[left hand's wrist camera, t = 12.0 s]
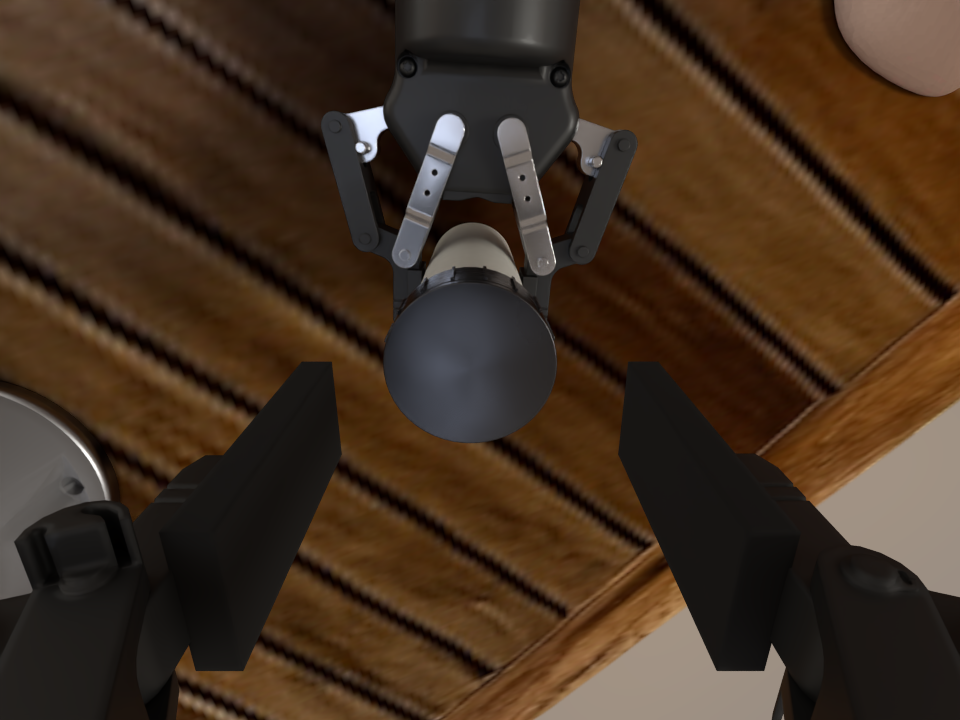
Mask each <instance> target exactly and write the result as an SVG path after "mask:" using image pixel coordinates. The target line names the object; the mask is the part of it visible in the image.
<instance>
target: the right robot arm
mask: <svg viewBox="0 0 960 720" xmlns="http://www.w3.org/2000/svg"><path fill="white" fill-rule="evenodd" d="M579 5H580V0H395V75H394V79H393V83H392V85H391V88H390V90H389V92H388V94H387V96H386V98H385V100H384V104H383V106H381V107H376V108H372V109H367V110H362V111H358V112H353V113H348V114H345V113H342V112H338V111H330V112H328V113H326V114H325V115H324V117H323V118H322V121H321V129H322V132H323V136H324V140H325V143H326V147H327V150H328V154H329V158H330V161H331V165H332V168H333V172H334V176H335V179H336V183H337V186H338V190H339V194H340V197H341V201H342V204H343V208H344V211H345V215H346V219H347V222H348V226H349V229H350V233H351V237H352V240H353V243H354V245H355V246H356V248H358V249H359V250H361V251H363V252H372V253H374V254H377V255H379V256H382V257H384V258H385V259H387V260H388V261H389V262H390V264H391V265H392V268H393V300H394V301H393V308H394V309H393V320H394V321H395V319H396V317H397V315H398V314H397V311H398V309H399V307H400V305H401V303H402V301H403V299H404V297H405V298H407V297H408V296H409V295H410V294H411V293H412V292H413V290H414V289H415V288H416V287H417V286H419V285H420V284H421V282H422V280H423V277H424V275H425V272H426V262H424V261H422V250H423V247H424V245H425V242H426V239H427V237H428V234H429V231H430V229H431V226H432V223H433V221H434V218H435V216H436V213H437V211H438V208H439V206H440V203H441V200H458V201H460V200H465V199H469V198H474V197H480V198H483V199H486V200H488V201H491V202H494V203H509V204H512V208H513V211H514V215H515V219H516V222H517V225H518V229H519V233H520V237H521V241H522V244H523V248H524V252H525V262H524V267H520V269H519V277H520V280H521V283H522V285H523V287H524V288H525V289H526V290H527V291H528V292H529V293H530V294H531V295H532V296H536V298H537V300H538V302H539V305H540V307H541V310H542V313H543V315H544V318H545V320H546V322H547V314H548V305H549V296H550V286H551V279H552V277H553V275H554V273H555V272H556V271H557V270H559V269H560V268H563V267H566V266H569V265H572V264H576V263H577V264H587V263H589V262H590V261H591V260H592V259H593V258H594V256H595V254H596V251H597V249H598V246H599V244H600V241H601V239H602V236H603V233H604V231H605V228H606V226H607V223H608V221H609V218H610V216H611V213H612V211H613V208H614V205H615V203H616V200H617V198H618V195H619V193H620V190H621V188H622V185H623V182H624V180H625V177H626V175H627V172H628V170H629V167H630V165H631V162H632V159H633V157H634V154H635V152H636V149H637V138H636V136H635V135H634V133H632V132H631V131H628V130H611V129H608V128H605V127H602V126H599V125H597V124H594V123H591V122H588V121H585V120H583V119H580V118H579V112H578V108H577V106H576V103H575V101H574V97H573V93H572V71H573V61H574V52H575V42H576V33H577V23H578V14H579ZM387 130H390V132H391V134H392V135H393V137H394V138H395V140H396V141H397V143H398V144H399V146H400V147H401V149H402V151H403V152H404V154H405V155H406V157H407V158H408V160H409V161H410V163H411V164H412V166H413V168H414V169H415V171H416V172H417V174H418V178H417V181H416V184H415V186H414V189H413V192H412V195H411V198H410V200H409V203H408V206H407V209H406V213H405V217H404V220H403V222H402V225H401V228H400V231H399V230H397V229H395V228H392V227H390V226H388V225H385V221H384V217H383V213H382V209H381V205H380V201H379V197H378V193H377V189H376V185H375V181H374V177H373V173H372V170H371V166H370V162H371V161H374V160H375V159H377V158H378V156H379V154H380V150H381V147H380V140H381V137H382V135H383V134H384V133H385V132H386V131H387ZM571 141H572V142H573V143H574V144H575V145H576V147H577V149H578V159H577V166H578V168H579V170H580V171H581V172H582V173H583V174H585V175H586V177H585V180H584V182H583V185H582V188H581V190H580V193H579V196H578V199H577V201H576V204H575V207H574V210H573V212H572V215H571V218H570V220H569V223H568V226H567V229H566V231H565V234H564V235H562V236H558V237H555V238H552V239H551V238H550V234H549V230H548V226H547V218H546V213H545V209H544V205H543V200H542V196H541V192H540V188H539V184H538V181H539V180H540V179H541V178H542V176H543V175H544V174H545V173H546V172H547V170H548V169H549V168H550V167H551V165H552V164H553V163H554V162H555V160H556V159H557V158H558V157H559V156H560V154H561V153H562V152H563V151H564V149H565V148H566V147H567V146H568V144H569V143H570V142H571ZM442 198H443V199H442Z"/></svg>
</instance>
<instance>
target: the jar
mask: <svg viewBox="0 0 960 720" xmlns="http://www.w3.org/2000/svg"><path fill="white" fill-rule="evenodd" d="M453 266H455V267H456V268H461V267H480V268H483V266H486V268H487V269H491V270H494V271H498V272H500V273H502V274H505V275H507V276H509V277H510V278H511V277H512V276H513V277H515V280H516V281H517V282H518V283H519V284H521V285H522V283H521V280H520V277H519V274H518V271H517V268H516V266H515V263H514V260H513V257H512V254H511V251H510V249H509V246H508V244H507V242H506V241H505V239H504V238H503V237H502V236H501V235H500V234H499V233H498V232H497V231H496V230H494V229H493V228H491V227H489V226H487V225H484V224H480V223H464V224H460V225H458V226H455V227H453V228H452V229H450V230H449V231H447V232H446V233H445V234H444V235H443V236H442V237H441V239H440V240H439V241H438V243H437V245H436V248H435V250H434V252H433V255H432V257H431V260H430V262H429V265H428V267H427V270H426V272H425V275H424V277H423V280H424V278H426V277H427V278H428V279H429V278H430V277H432V276H434V275H436V274H438V273H441V272H443V271H446V270H450V269H452V267H453ZM423 280H422V282H421V283H423ZM522 286H523V285H522Z"/></svg>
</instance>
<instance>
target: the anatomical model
mask: <svg viewBox="0 0 960 720" xmlns="http://www.w3.org/2000/svg"><path fill="white" fill-rule="evenodd" d="M834 5H835V14H836V20H837V23H838V27H839V29H840V31H841V34H842V36H843V38H844V40H845V41H846V43H847V44H848V46H849V47H850V48H851V50H852V51H853V52H854V53H855V54H856V55H857V56H858V57H859V59H860V60H861V61H862V62H864V63H865V64H866V65H867V66H868V67H870V68H871V69H872V70H873V71H875V72H876V73H878V74H879V75H881V76H882V77H884V78H885V79H887V80H889V81H890V82H892V83H894V84H896V85H898V86H900V87H902V88H904V89H906V90H909V91H911V92H914V93H916V94H920V95H924V96H932V97H936V96H942V95H946V94H948V93H951V92H953V91H955V90H956V89H958V88H960V0H834Z"/></svg>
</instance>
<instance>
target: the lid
mask: <svg viewBox="0 0 960 720" xmlns="http://www.w3.org/2000/svg"><path fill="white" fill-rule="evenodd" d="M397 314H398V315H397V317H396V319H395V321H394V323H392V325H391V327H390V330H389V332H388V334H387V336H386V338H385V341H384V342H386V344H385V349H384V357H383V367H384V376H385V380H386V384H387V387H388V390H389V392H390V394H391V396H392V398H393V400H394V402H395V403H396V405H397V406H398V408H399V409H400V411H401V412H402V413H403V414H404V415H405V416H406V417H407V418H408V419H409V420H410V421H411V422H413V423H414V424H415V425H416V426H418V427H419V428H421V429H422V430H424V431H425V432H427V433H429V434H432V435H434V436H436V437H439V438H442V439H445V440H449V441H453V442H461V443H480V442H487V441H492V440H496V439H499V438H502V437H504V436H507V435H509V434H511V433H513V432H515V431H517V430H518V429H520V428H521V427H523V426H524V425H526V424H527V423H528V422H529V421H530V420H531V419H533V418H534V417H535V415H536V414H537V413H538V412H539V411H540V410H541V408H542V407H543V405H544V404H545V403H546V401H547V399H548V397H549V395H550V393H551V391H552V388H553V385H554V382H555V377H556V370H557V356H556V348H555V344H554V340H555V336H554V334H553V332H552V329H551V327H550V325H549V322H548V321H547V322H546V320H545V318H544V315H543V313H542V310H541V307H540V305H539V302H538V300H537V298H536V296H532V295H531V294H530V293H529V292H528V291H527V290H526V289H525V288H524V287H523V286H522V285H521V284H519V283H518V282H517V281H516V280H515V277H513V276H512V277H511V278H510V277H509V276H507V275H505V274H502V273H500V272H498V271H494V270H491V269H487V268H486V266H483V268H480V267H461V268H456V267H455V266H453V267H452V269H450V270H446V271H443V272H441V273H438V274H436V275H434V276H432V277H430V278H429V279H428V278H427V277H426V278H424V280H423V283H421V284H420V285H419V286H417V287H416V288H415V289H414V290H413V292H412V293H411V294H410V295H409V296H408V297H407V298H405V297H404V299H403V301H402V303H401V305H400V307H399V309H398V311H397Z"/></svg>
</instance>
